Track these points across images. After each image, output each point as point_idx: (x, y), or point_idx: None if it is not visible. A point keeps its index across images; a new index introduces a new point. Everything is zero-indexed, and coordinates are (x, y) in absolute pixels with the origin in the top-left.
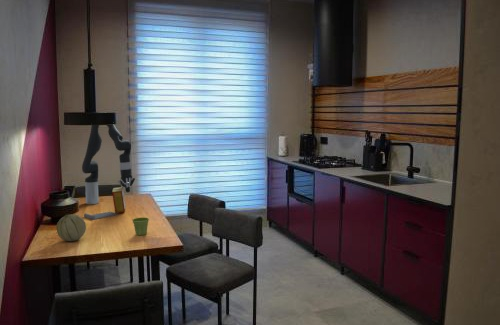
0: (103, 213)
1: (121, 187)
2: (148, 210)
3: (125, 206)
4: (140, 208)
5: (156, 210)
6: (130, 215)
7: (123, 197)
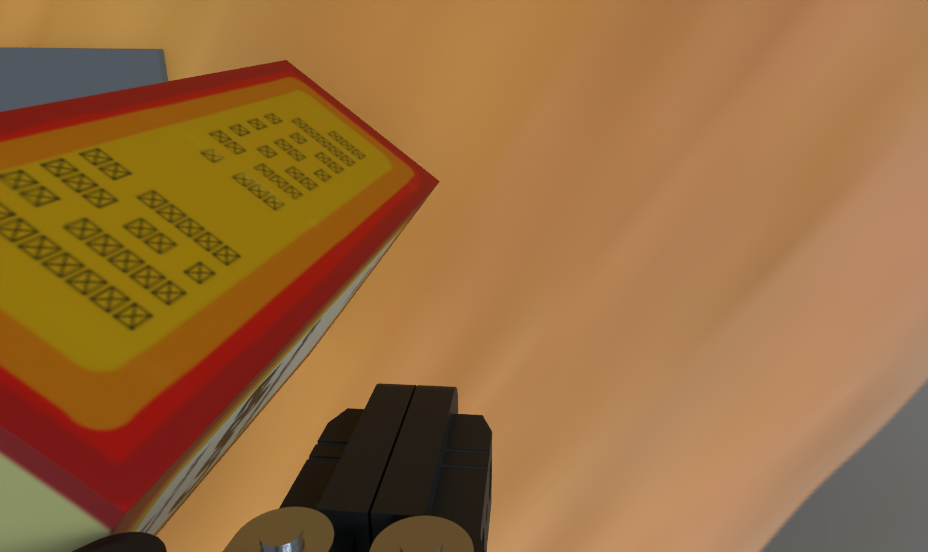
0: (6, 107)
1: (32, 529)
2: (686, 455)
3: (405, 224)
4: (724, 233)
5: (756, 539)
6: None
7: (218, 450)
